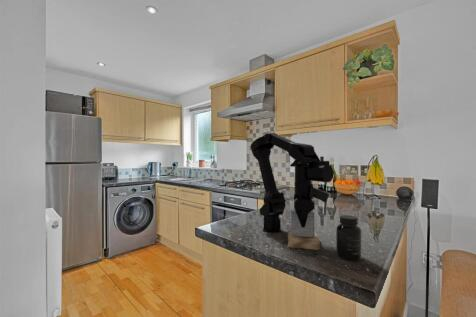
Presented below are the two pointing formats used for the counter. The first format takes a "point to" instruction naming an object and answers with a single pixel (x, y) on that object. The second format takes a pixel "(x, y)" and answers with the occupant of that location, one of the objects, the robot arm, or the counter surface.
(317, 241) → the oak block
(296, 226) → the medicine box
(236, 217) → the counter surface
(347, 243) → the supplement bottle
